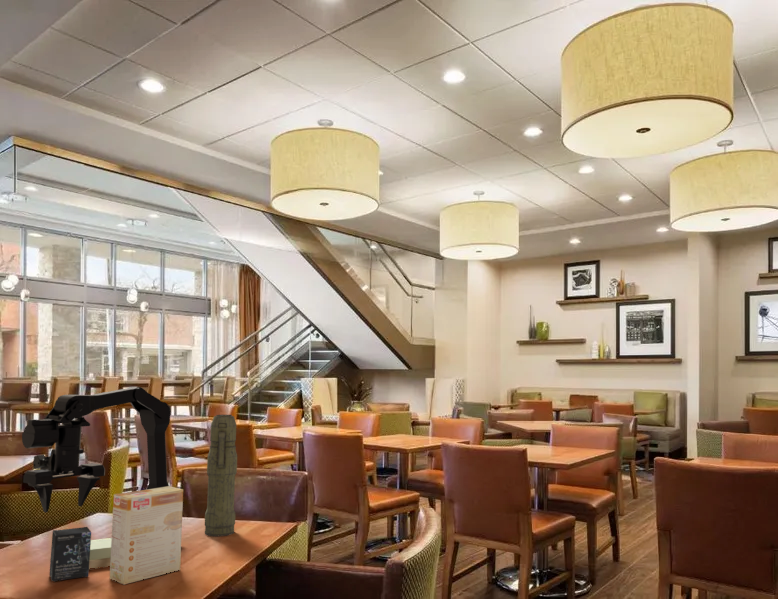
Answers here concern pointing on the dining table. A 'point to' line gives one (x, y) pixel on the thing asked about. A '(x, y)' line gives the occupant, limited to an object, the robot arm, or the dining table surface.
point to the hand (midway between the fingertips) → (63, 509)
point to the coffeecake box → (146, 534)
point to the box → (70, 553)
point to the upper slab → (100, 549)
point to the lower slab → (99, 563)
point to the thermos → (221, 477)
